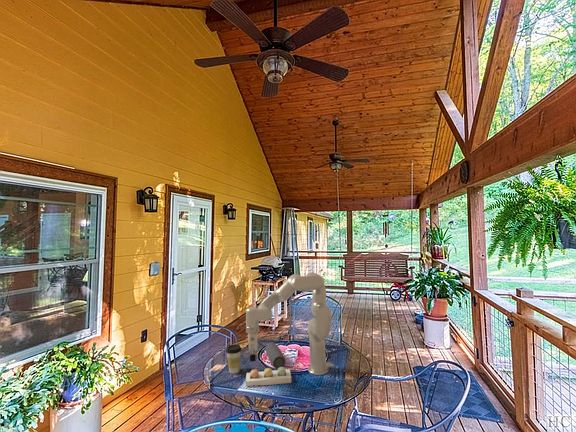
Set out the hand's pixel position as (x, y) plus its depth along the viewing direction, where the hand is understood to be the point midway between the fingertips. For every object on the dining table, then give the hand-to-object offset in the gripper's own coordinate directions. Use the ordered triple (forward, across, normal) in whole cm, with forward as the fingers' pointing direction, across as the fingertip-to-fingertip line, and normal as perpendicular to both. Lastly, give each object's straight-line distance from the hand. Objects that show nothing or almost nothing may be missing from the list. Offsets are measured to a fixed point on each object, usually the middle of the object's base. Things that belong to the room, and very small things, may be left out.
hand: (252, 360), depth 176 cm
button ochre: (+9, 0, -9) cm, 13 cm away
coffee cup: (+13, +15, +12) cm, 23 cm away
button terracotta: (+9, 0, -1) cm, 9 cm away
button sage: (+9, 0, -17) cm, 19 cm away
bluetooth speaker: (+12, +21, -14) cm, 28 cm away
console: (+12, 0, -9) cm, 15 cm away
